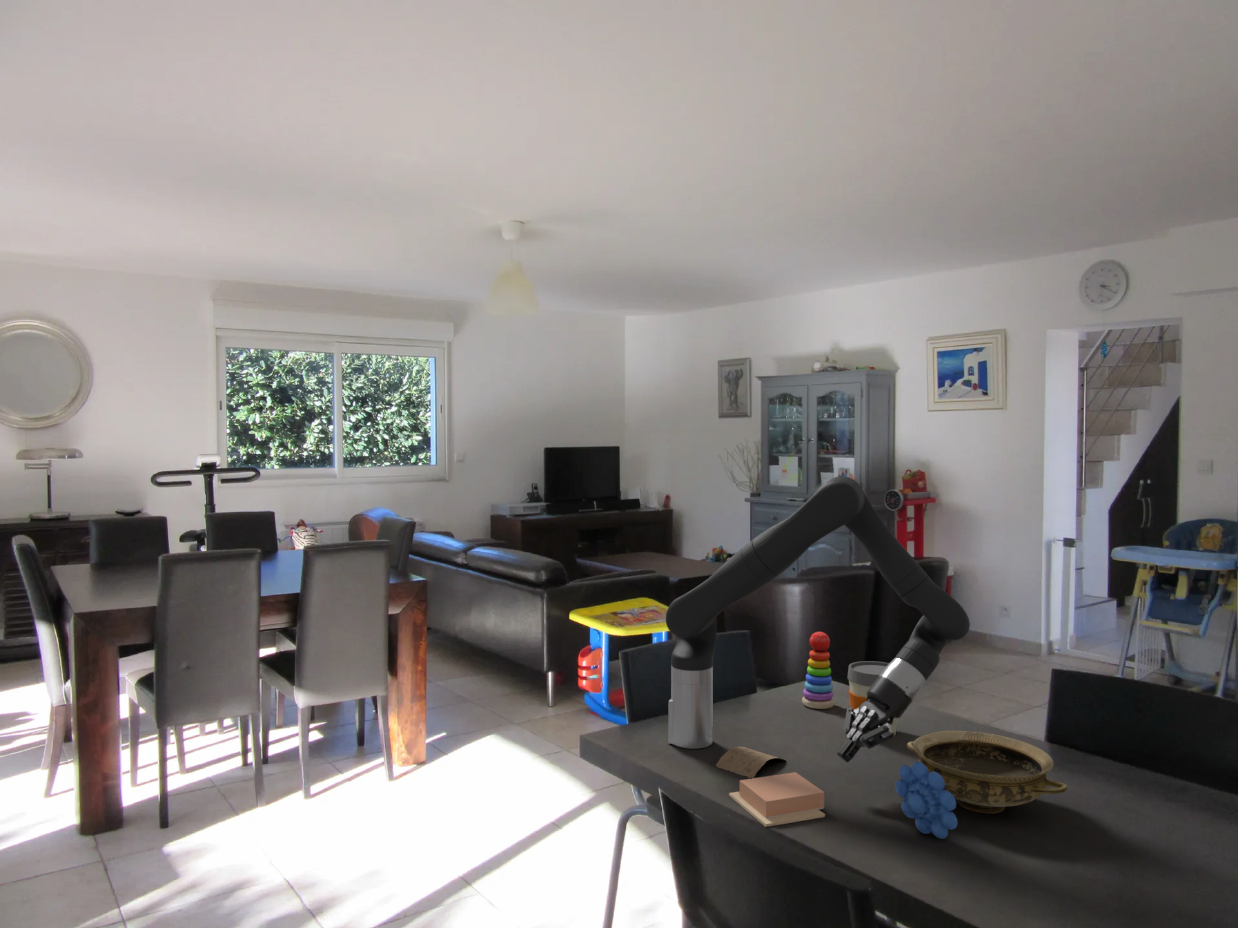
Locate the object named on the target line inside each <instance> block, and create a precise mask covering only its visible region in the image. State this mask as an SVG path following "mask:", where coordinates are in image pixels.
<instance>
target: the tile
mask: <svg viewBox="0 0 1238 928" xmlns="http://www.w3.org/2000/svg"><path fill="white" fill-rule="evenodd" d="M738 792H739V795H740V797H742V798H743V799H744V800H745V801H746V802H747V803H749V804H750V805H751V806H752V807H753V808H755V809H756V810H757V811H758V812H759V813H761V814H762V815H763V816H764V817H765V818H769V817H775V816H781V815H787V814H793V813H799V812H805V811H811V810H817V809H819V810H823V809H824V808H825V791H823V790H822V789H820V788H819V787H817V786H816V785H815V784H814V783H812V782H810V781H809V780H808V779H806V778H805V777H804V776H802V775H800V774H799V773H797V772H796V771H793V772H788V773H781V774H773V775H766V776H760V777H754V778H753V779H751V778H747V779H741V780H739V791H738Z"/></svg>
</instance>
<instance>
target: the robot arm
mask: <svg viewBox="0 0 1238 928" xmlns="http://www.w3.org/2000/svg"><path fill="white" fill-rule="evenodd" d="M843 526H844V527H846V528H847V529H848V530H849V531H850V533H852V534H853V535H854V536H855V537H856V539H857V540H858V541H859V542H860V543H861V545H862V547H863V548H864V549H865V550H866V552H867V553H868V555H869V557H870V558H871V560H872V562H873V563H874V565H875V567H876V568H877V570H878V571H879V573H880V574H881V576H882V577H883V578H884V580H885V581H886V583H888V585H889V586H890V588H892V590H893V591H894V592H895V593H896V594H897V596H898V597H899V598H900V599H901V600H902V601H903V602H904V603H905V604H906V605H907V606H910V607H912V608H915V609H917V610H918V611H919V612H920V613H921V614H922V616H921V617H920V619H919V620H918V622H917V624H916V625H915V627H914V629H913V631H912V633H911V635H910V636H909V639H908V640H907V642H906V643H905V644H904V645H903V646H902V648H901V649H900V650H899V651H898V653H897V654H896V656H895V657H894V658H893V659H892V660H891V661H890V662H888V663H889V664H888V665H887V666H886V667H885V669H884V670H883V671H882V673H881V674H880V675H879V677H878V678H877V679H876V680H875V682H874V683H873V684H872V686H871V687H870V688H869V690H868V691H867V700H866V701H865V702H864V703H862V704H861V705H860V707H859V708H858V709H855V710H853V709H852V708H851V707H848V708H847V709H846V713H845V719H844V726H843V732H844V733H845V734H846V737H847V738H846V740H845V741H843V744H842V745H841V746H840V748H839V749H838V751H837V753H836V754H837V756H838V757H839V758H840V759H841V760H842V761H844V762H845V763H850V761H851V760H853V758H854V757H855V756H856V755H857V753H858V752H859V750H860V749H864V748H867V749H868V750H869V749H872V748H874V747H876V746H878V745H880V744H882V743H884V742H886V741H888V740H891V739H892V738H894V737H895V736H896V734H894V732H893V731H892V730H891V726H890V725H891V724H892V723H893V720H894V718H896V719H897V720H899V719H900V718H901V717H902V716H903V714H904V713H905V712H906V711H907V710H908V707H910V705H911V704H912V703H913V702H914V700H915V699H916V697H917V696H918V695H919V694H920V692H921V690H922V688H923V687H924V685H925V683H926V682H927V680H928V679H929V678H930V676H931V675H932V674H933V672H934V671H935V669H936V668H937V667H938V665H939V662H940V660H941V659H940V658H941V657H940V654H941V652H942V651H943V649H945V646H946V645H947V644H948V643H949V642H951V641H952V642H953V641H958V640H961V639H962V638H964V637H965V636H966V635H967V634H968V633H969V630H970V626H971V625H970V624H971V623H970V617H969V616H968V614H967V612H966V610H965V609H964V608H963V606H962V605H961V604H960V603H959V602H958V601H957V600H956V599H955V598H954V597H953V596H951V595H950V594H949V593H948V592H946V591H945V590H944V589H943V588H941V586H939V585H937V584H936V583H935V582H934V581H933V580H932V579H931V577H930V576H929V575H928V573H927V572H926V571H925V570H924V569H923V567H921V565H920V564H919V563H918V562H917V561H916V560H915V558H914V557H913V556H912V555H911V554H910V553H909V551H908V550H907V549H906V548H905V547H904V546H903V544H902V543H900V541H899V540H898V539H897V538H896V537H895V535H893V533H892V531H891V530H890V529H889V528H888V527H887V526H886V524H885V523H884V520H882V518H881V517H880V516H879V514H878V513H877V512H876V510H875V508H874V506H873V505H872V503H871V501H870V500H869V497H868V496H867V495H866V493H865V492H864V490H863V488H862V487H861V485H860V483H858V482H857V481H856V480H855V479H854V478H850V477H848V476H843V475H842V476H835V477H832V478H830V479H829V480H827V481H826V482H825V483H823V484H822V485H821V486H820V487H819V488H818V489H817V490H816V491H815V492H814V493H813V495H811V497H809V498H808V499H807V500H806V501H805V502H804V503H803V504H802V505H801V506H800V507H799V508H798V509H797V510H796V511H794V512H793V513H792V514H791V515H790V516H788V517H787V518H785V519H784V520H782V521H780V522H778V523H776V524H775V525H773V526H771V527H769V528H767V529H766V530H764V531H763V532H761V533H760V534H758V535H757V536H756V537H754V538H753V539H752V540H750V541H749V542H747V543H746V544H745V545H744V546H743V547H742V548H740V549H739V550H738V551H737V552H735V553H734V554H733V555H732V556H731V557H730V558H729V559H728V560H726V561H725V562H724V563H723V564H722V565H721V566H720V567H719V568H718V569H716V571H714V573H712V575H710V576H709V577H708V578H707V579H706V580H704V581H702V583H700V584H699V585H697V586H695V587H694V588H693V589H691V590H690V591H688V592H686V593H684V594H683V595H680V596H679V597H677V598H675V599H674V600H673V601H672V602H671V603H670V605H669V606H668V607H667V610H666V613H665V623H666V627H667V629H668V631H670V633H671V634H672V635H674V636H676V637H677V639H676V642H675V646H674V648H673V650H672V653H671V657H670V660H671V662H670V663H671V667H670V670H671V671H670V672H671V673H670V674H671V675H670V678H671V680H670V683H671V684H670V685H671V686H670V687H671V688H670V690H671V691H670V693H671V694H670V695H671V697H670V699H669V700H668V711H667V712H668V715H667V717H668V718H667V719H668V726H667V727H668V729H667V731H668V733H667V734H668V742H667V743H668V744H672V745H675V746H676V747H679V748H684V749H691V750H692V749H693V750H695V749H696V750H697V749H703V748H707V747H710V746H711V745H712V744H713V737H714V736H713V735H714V733H713V728H714V727H713V724H714V723H713V722H714V721H713V717H714V716H713V714H714V712H713V711H714V710H713V709H714V707H713V697H714V695H713V694H714V693H713V692H714V691H713V687H714V686H713V682H714V681H713V671H714V668H713V667H714V666H713V665H714V664H713V662H714V661H713V660H714V656H715V653H716V647H717V625H718V624H717V620H718V619H717V616H718V615H720V614H721V612H723V611H724V610H726V609H727V608H728V607H730V606H731V605H734V604H735V603H737V602H739V601H741V600H742V599H745V598H746V597H748V596H750V595H752V594H754V593H755V592H758V591H759V590H760V589H762V588H764V587H765V586H767V585H768V584H769V583H770V582H772V581H773V580H775V579H776V578H778V576H780V575H781V574H782V573H784V572H785V571H786V570H788V569H789V568H790V567H791V566H793V564H794V563H795V562H796V561H798V559H800V557H801V556H803V554H804V553H805V552H806V551H808V549H809V548H811V546H813V545H814V544H815V543H817V542H819V541H820V540H821V539H823V538H825V537H826V536H827V535H829V534H831V533H832V532H834V531H837V530H838V529H839V528H841V527H843ZM857 731H858V732H857ZM894 735H895V736H894Z"/></svg>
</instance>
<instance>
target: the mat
mask: <svg viewBox="0 0 1238 928" xmlns="http://www.w3.org/2000/svg"><path fill="white" fill-rule="evenodd" d="M728 797H730V798H731V799H732V800H733V801H734V802H736V803H737V804H738V805H740V807H742V808H743V809H744V810H745V811H747V813H749V815H751V816H752V817H754V818H755V819H756V820H757V821H758V822H759V823H760V824H761V825H763V827H766V828H768V827H774V826H779V825H784V824H785V825H786V824H791V823H797V822H802V821H809V820H814V819H815V820H816V819H820V818H825V817H826V814H825V813H824V812H822V811H821V809H817V810H811V811H805V812H799V813H793V814H787V815H781V816H775V817H769V818H765V817H764V816H763V815H762V814H761V813H759V812H758V811H757V810H756V809H755V808H753V807H752V806H751V805H750V804H749V803H747V802H746V801H745V800H744V799H743V798H742V797H740V795H739V791H735V792H729V793H728Z"/></svg>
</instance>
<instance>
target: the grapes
mask: <svg viewBox="0 0 1238 928" xmlns="http://www.w3.org/2000/svg"><path fill="white" fill-rule="evenodd" d="M898 774H899V777H900V779H898V780H897V781H896V782H895V784H894V787H895V792H896V794H897V795H898V796H899V797H900V798H902V799H903V801H901V805H900V807H901V811H902V812H903V814H904V815H905V816H906V817H907V818H910V819H914V824H915V826H916V829H917V830H918V831H919V832H920V833H921V834H924V835H929V834H931V833H932V834H933V836H935V838H938V839H941V840H943V839H945V838H946V837H948V836H949V835H948V833H949V830H955V829H956V828H957V827H958V818H957V816H956V814H955V813H954V812H953V811H954V810H955V809H956V807H957V799H956V798H955V797H954V796H953V795H952V794H951V793H950V792H949V791H946V790H944V791H942V790H943V789H944V787H945V783H944V780H943V777H942V776H941V775H940V774H939V773H937V772H935V771H934V772H930V773H929V772H928V769H927V767H926V766H925V765H924V764H923V763H921V762H919V761H914V763H913V764H912V765H911V766H909V765H908V764H903V765H902V766H901V767H899V770H898Z"/></svg>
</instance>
